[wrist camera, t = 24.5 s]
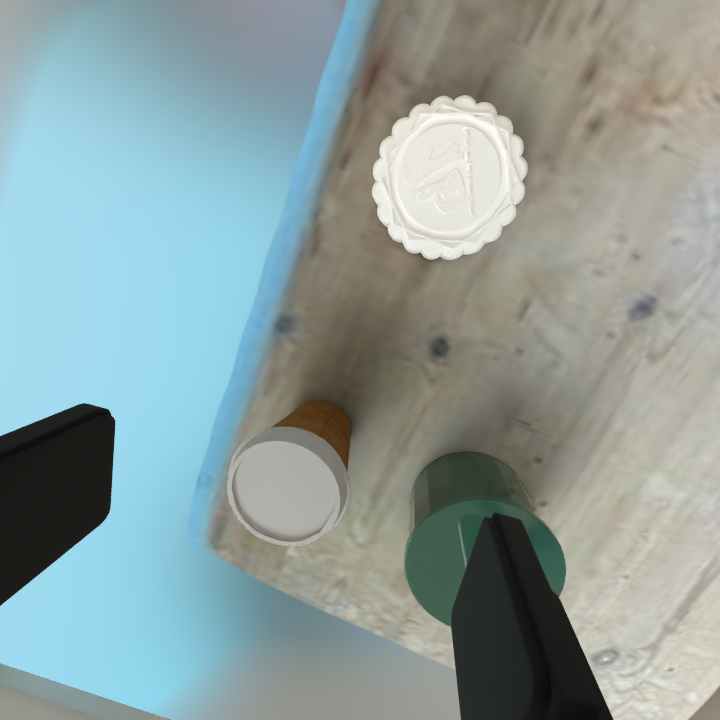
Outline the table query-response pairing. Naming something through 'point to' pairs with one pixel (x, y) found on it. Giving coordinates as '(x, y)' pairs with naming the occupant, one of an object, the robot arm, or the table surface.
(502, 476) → the crock
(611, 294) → the table surface
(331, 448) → the disposable coffee cup
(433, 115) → the mooncake
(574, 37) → the table surface
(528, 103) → the table surface
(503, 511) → the crock lid
